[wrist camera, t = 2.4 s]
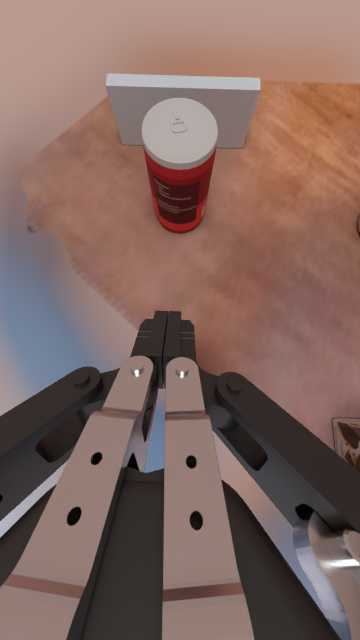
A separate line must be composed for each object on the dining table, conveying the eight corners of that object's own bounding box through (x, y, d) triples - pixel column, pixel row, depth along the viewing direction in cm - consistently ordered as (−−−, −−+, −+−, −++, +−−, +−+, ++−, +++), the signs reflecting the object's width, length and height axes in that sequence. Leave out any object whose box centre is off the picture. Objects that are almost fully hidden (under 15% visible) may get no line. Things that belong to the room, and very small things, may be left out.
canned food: (189, 181, 30) (194, 85, 19) (213, 221, 29) (234, 143, 18) (146, 201, 29) (126, 114, 18) (169, 242, 28) (163, 175, 17)
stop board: (241, 114, 32) (258, 48, 25) (242, 148, 31) (260, 90, 24) (125, 110, 32) (110, 44, 25) (122, 144, 31) (105, 85, 24)
